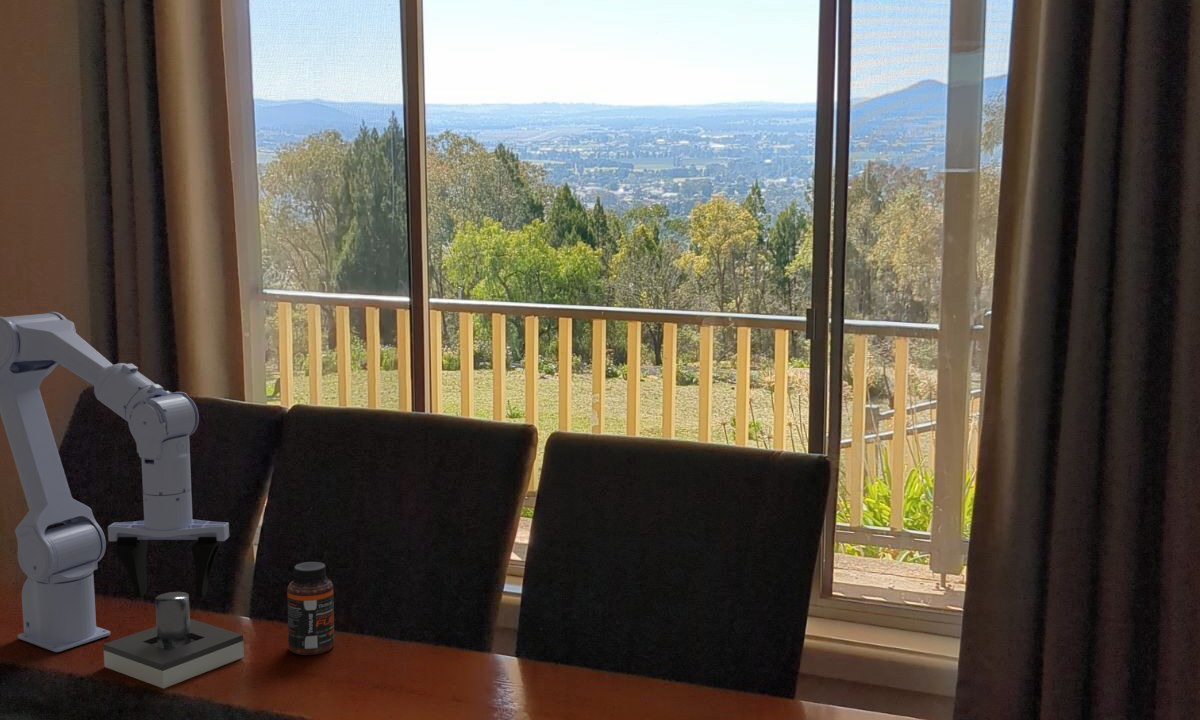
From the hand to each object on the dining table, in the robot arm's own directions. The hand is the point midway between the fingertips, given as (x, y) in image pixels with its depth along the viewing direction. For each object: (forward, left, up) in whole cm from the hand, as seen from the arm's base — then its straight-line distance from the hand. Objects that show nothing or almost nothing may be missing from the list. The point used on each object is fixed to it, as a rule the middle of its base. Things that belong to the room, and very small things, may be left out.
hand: (171, 594), depth 146 cm
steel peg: (0, 0, -8) cm, 8 cm away
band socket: (0, 0, -9) cm, 9 cm away
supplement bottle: (+11, +13, -9) cm, 19 cm away
